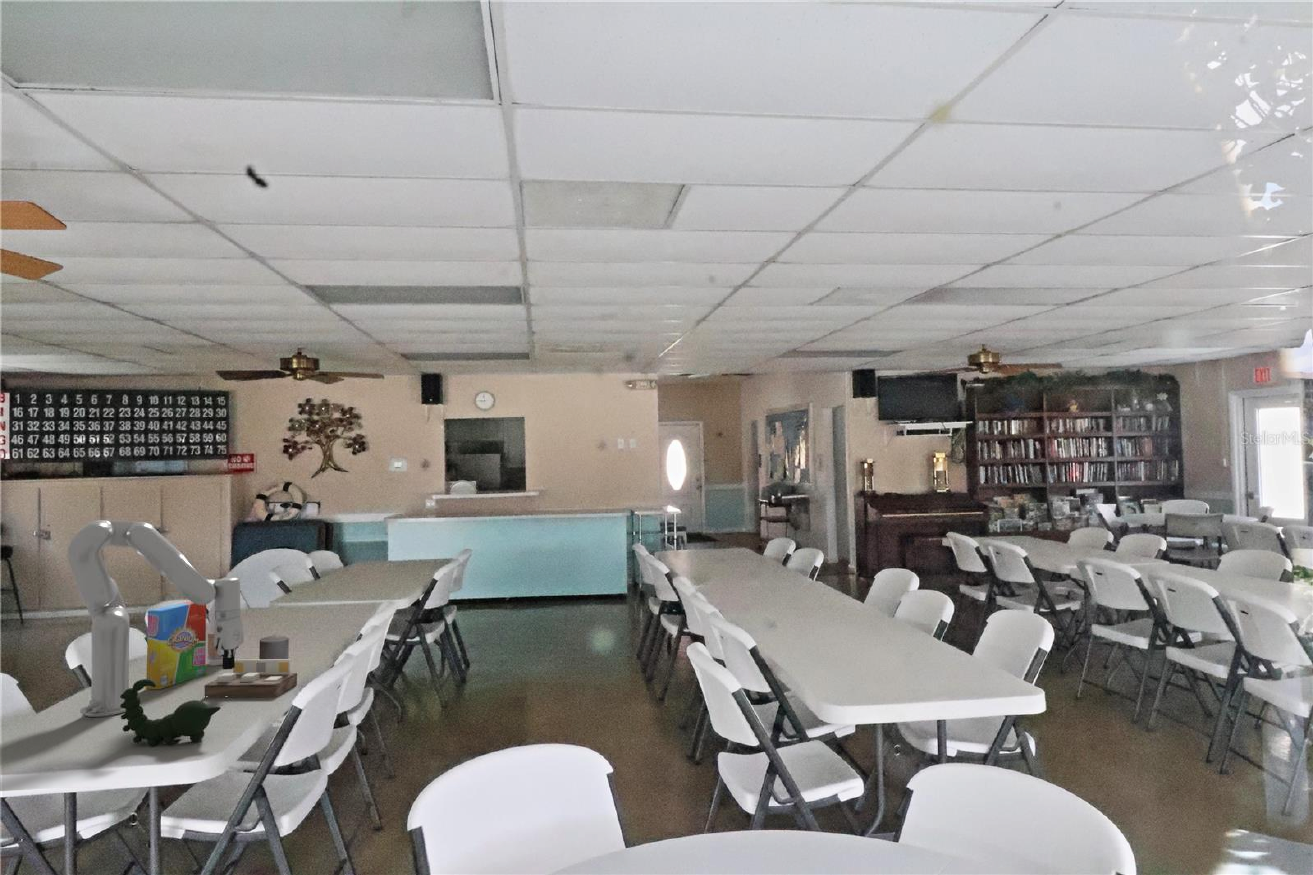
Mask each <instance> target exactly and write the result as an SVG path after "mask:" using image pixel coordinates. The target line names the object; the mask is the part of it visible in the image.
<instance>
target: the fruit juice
mask: <svg viewBox="0 0 1313 875" xmlns="http://www.w3.org/2000/svg"><path fill="white" fill-rule="evenodd" d="M213 600H214V601H213V603H212V605H211V608H210V609H209V611H208V620H209V623H208V626H207V664H208V665H209V666H223V659H222V657H221V655H217V651H218V650H215V647H214V632H215V623H216V621H215V599H213ZM234 658H235V659H236V655H235V656H234Z"/></svg>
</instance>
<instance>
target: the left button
mask: <svg viewBox="0 0 1313 875" xmlns="http://www.w3.org/2000/svg"><path fill="white" fill-rule="evenodd" d="M217 679H218V682H231V681H233V680H235V679H236V673H233V672H224V673H223V674H220V675H218V676H217Z"/></svg>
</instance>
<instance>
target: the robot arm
mask: <svg viewBox="0 0 1313 875" xmlns="http://www.w3.org/2000/svg"><path fill="white" fill-rule="evenodd" d="M105 547H114V548H115V547H117V548H118V547H122V548H131V549H132V550H133V551H135V553H136V554H138V555H139V556H140V557H141V558H142V559H143V560H144V561H145V562H147V564H148V565H150V567H152V568H153V569H154V570H155V571H157V573H159V575H160V576H162V577H163V578H164V579H166V580H167V581H168V582H170V584H171V585H173V586H174V587H175V588H176V589H177V590H178V591H179V592H180V593H182V594H183V595H184V596H185V597H186V598H187V600H189V602H190V601H192V602H193V603H194V604H196V605H206V606H207V605H208V604H210V603H212V602H214V601H213V600H215V621H216V623H215V632H214V647H215V650H218V651H217V655H221V657H222V659H223V665H222V670H233V668H234V667H235V660H236V651H237V649H238V648H239V647H240V646H241V645H243V644H244V640H245V639H244V637H245V636H244V625H243V620H242V616H241V581H240V579H239V578H238V577H222V578H219V579H218V578H217V579H214V578H213V579H211V578H210V579H208V578H205V577H204V576H203V575H202V574H200V573H199V572H198V570H196V569H195V567H193V566H192V565H191V564H190V562H189V561H188V560H187V558H186V557H185V556H184V555H183V553H182V552H181V551H180V550H179V549H177V547H175V546H174V545H173V544H172V543H171V542H170V541H169V540H167V539H166V538H165V537H164V536H163V535H162V534H161V533H160V532H159V531H158V530H157V529H156V528H155V527H154V526H153V525H152V524H150V523H148V522H145V521H128V520H127V521H126V520H124V521H123V520H105V519H97V520H93V521H90V522H88V523H87V524H86V525H84V526H83V528H81V529H80V530H79V531H78V532H77V533H76V534H75V535H74V536H73V537H72V539H71V541H70V543H69V545H68V548H67V553H66V559H67V563H68V567H69V568H70V573H71V574H72V578H73V581H74V583H75V585H76V588H77V590H78V594H79V599H80V600H81V602H82V603H83V604H84V606H85V607H86V610H87V612H88V613H89V617H90V618H91V622H92V623H91V624H92V625H91V632H90V633H91V692H90V693H91V697H90V698H91V700H89V701H88V702H89V704H88V706H87V705H86V706H85V707H82V708H81V709H80V710H79V711H80V714H81V715H85V716H86V717H91V718H100V717H101V718H102V717H108V716H109V717H110V716H115V715H118V714H122V713H123V714H124V713H125V712H126V709H125V708H121V707H120V705H121V704H122V703H124V701H125V700H124V699H122V698H120V696H121V694H123V693H124V692H125V691H126V690H127V689H129V687H130V686H129V682H130V678H129V677H130V676H129V675H130V669H129V668H130V658H129V657H130V627H131V626H130V614H129V612H128V610H127V607H126V604H125V602H124V600H123V597H122V594H121V592H120V589H119V587H118V584H117V582H116V581H115V580H114V579H113V578H112V577H110V575H109V571H108V569H107V567H106V563H105V561H104V559H103V556H102V554H103V553H102V552H103V549H104V548H105ZM234 656H235V658H234Z"/></svg>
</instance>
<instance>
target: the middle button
mask: <svg viewBox="0 0 1313 875" xmlns="http://www.w3.org/2000/svg"><path fill="white" fill-rule="evenodd" d="M258 679H259V673H247V674H245V675H243V676H241V682H254V681H256V680H258Z"/></svg>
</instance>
